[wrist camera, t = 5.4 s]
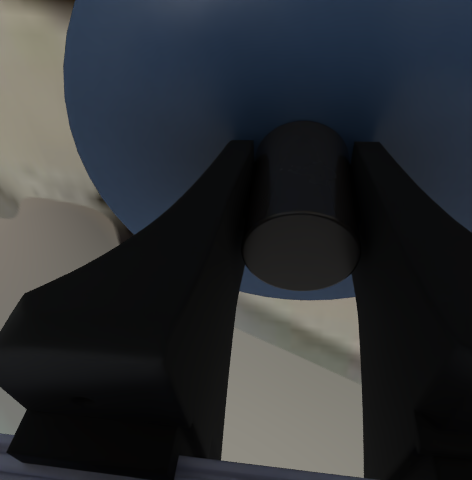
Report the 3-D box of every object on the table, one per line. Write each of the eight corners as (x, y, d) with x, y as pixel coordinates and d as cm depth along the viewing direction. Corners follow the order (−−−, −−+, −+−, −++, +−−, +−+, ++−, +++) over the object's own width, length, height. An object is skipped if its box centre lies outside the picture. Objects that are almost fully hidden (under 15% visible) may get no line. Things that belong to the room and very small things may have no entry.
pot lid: (683, 110, 10) (871, 245, 6) (311, 316, 18) (312, 419, 15) (265, -493, 5) (194, -1072, 2) (29, 162, 14) (-57, 263, 10)
